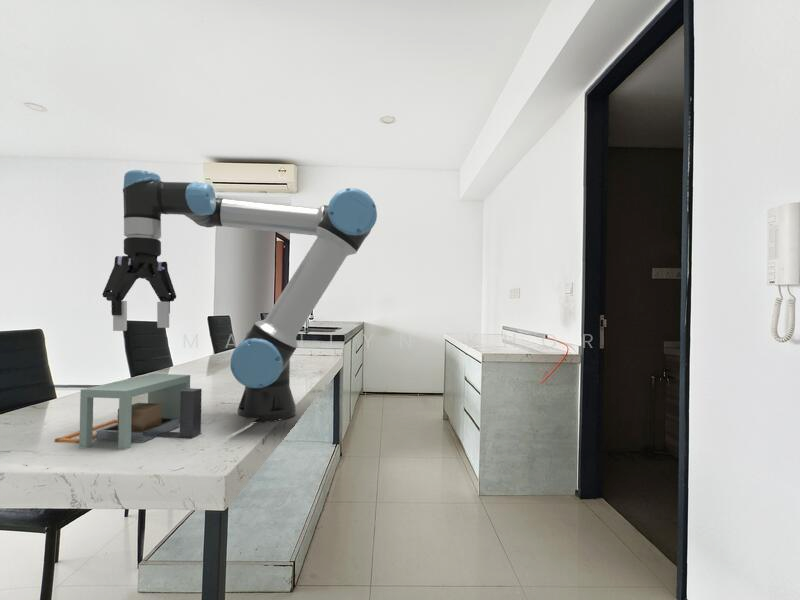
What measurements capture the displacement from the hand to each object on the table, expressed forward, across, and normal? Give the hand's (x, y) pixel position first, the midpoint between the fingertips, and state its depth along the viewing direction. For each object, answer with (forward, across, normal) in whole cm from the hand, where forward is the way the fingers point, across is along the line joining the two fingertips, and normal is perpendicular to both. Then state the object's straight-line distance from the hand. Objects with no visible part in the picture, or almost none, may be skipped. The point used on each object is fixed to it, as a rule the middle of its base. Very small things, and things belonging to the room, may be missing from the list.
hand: (143, 329), depth 100 cm
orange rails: (+24, +4, -8) cm, 25 cm away
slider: (+24, +4, +6) cm, 25 cm away
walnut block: (+23, +4, +2) cm, 23 cm away
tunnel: (+24, +4, +2) cm, 24 cm away
